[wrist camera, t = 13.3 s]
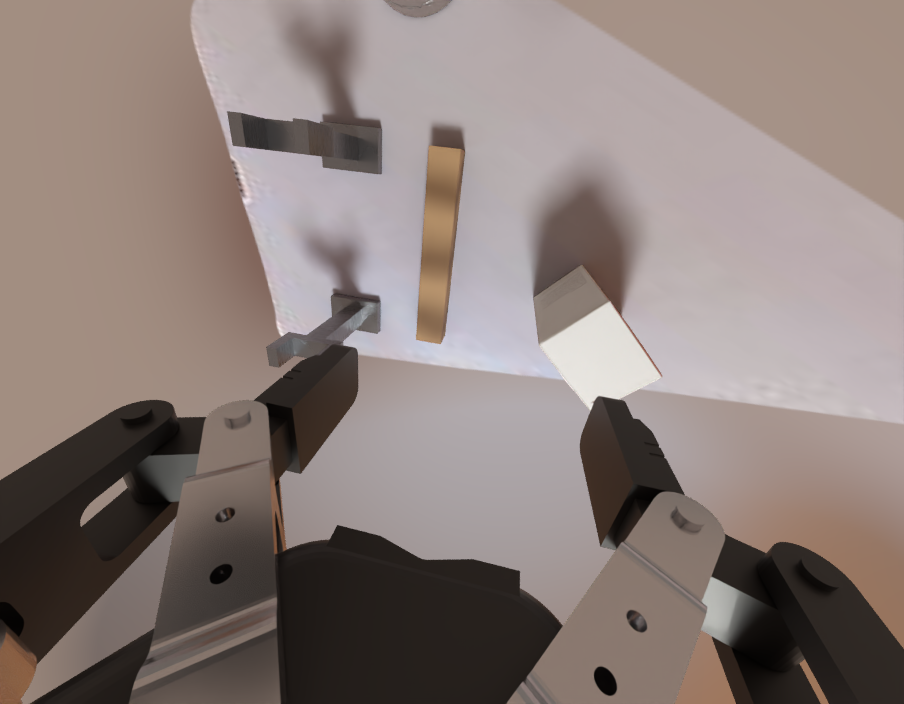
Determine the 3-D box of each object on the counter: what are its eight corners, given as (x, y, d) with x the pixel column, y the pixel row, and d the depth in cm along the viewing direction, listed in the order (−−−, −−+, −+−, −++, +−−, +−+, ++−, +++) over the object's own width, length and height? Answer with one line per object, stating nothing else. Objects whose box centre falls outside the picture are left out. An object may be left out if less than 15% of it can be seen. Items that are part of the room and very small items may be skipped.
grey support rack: (325, 122, 35) (222, 93, 23) (381, 129, 34) (306, 101, 22) (336, 322, 45) (269, 374, 33) (380, 330, 44) (328, 386, 32)
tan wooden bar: (436, 148, 34) (429, 145, 32) (465, 151, 34) (460, 149, 31) (422, 330, 43) (416, 339, 41) (445, 334, 43) (440, 344, 40)
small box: (621, 319, 38) (665, 379, 27) (571, 349, 41) (591, 415, 29) (582, 261, 36) (610, 299, 25) (531, 296, 39) (535, 345, 27)
